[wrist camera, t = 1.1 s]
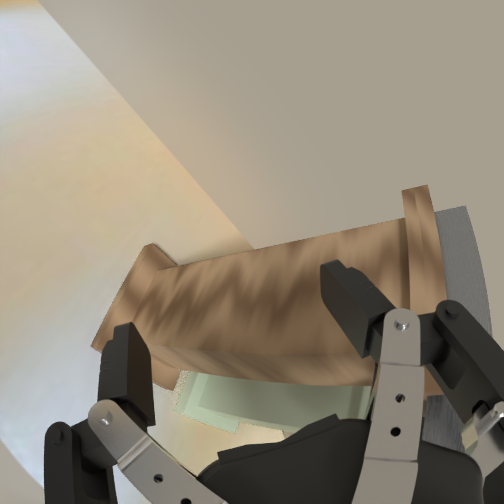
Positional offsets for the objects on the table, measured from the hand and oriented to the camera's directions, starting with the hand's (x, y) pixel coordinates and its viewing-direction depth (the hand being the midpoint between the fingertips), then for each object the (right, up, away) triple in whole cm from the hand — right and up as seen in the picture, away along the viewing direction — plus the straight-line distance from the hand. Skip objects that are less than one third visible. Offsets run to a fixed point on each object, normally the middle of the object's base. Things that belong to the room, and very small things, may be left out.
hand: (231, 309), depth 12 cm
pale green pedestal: (-5, -19, +31) cm, 36 cm away
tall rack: (-12, -6, +25) cm, 28 cm away
